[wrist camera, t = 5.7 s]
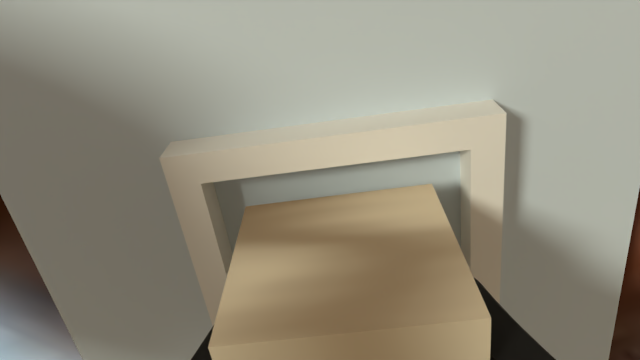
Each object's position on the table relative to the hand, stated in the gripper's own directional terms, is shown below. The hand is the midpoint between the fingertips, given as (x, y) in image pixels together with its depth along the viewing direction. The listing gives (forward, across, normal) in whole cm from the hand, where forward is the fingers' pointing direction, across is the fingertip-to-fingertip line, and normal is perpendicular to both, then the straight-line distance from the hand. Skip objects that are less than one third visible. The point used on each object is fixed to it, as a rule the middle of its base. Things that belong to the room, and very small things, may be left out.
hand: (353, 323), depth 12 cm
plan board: (+4, 0, -1) cm, 4 cm away
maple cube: (+2, 0, 0) cm, 2 cm away
